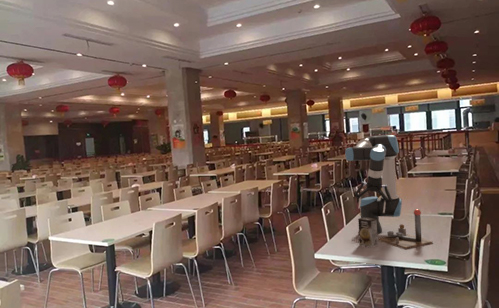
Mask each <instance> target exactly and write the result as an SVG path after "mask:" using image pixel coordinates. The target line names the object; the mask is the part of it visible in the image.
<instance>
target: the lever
mask: <svg viewBox="0 0 499 308" xmlns="http://www.w3.org/2000/svg"><path fill="white" fill-rule="evenodd" d="M421 214H422V211H421V210H420V209H418V208H417V209H414V210H413V215H414V229H415V237H416V238H415V237H409V236H403V233H400V232H396V234H394V232H395V231H387V236H388V237H393V238H399V239H406V240H412V241H417V242H421V241H422V239H423V238H422V221H421Z"/></svg>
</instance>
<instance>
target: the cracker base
mask: <svg viewBox="0 0 499 308" xmlns="http://www.w3.org/2000/svg"><path fill="white" fill-rule="evenodd" d="M397 231H398V232H400V233H403V236H409V237H415V238H416V235H412V234H407V229H406V228H405V225H404V224H403V223H402V224H401V223H400V224H399V227H398V230H397ZM398 232H397V233H398ZM377 239H378V241H380V242H383V243H386V244H389V245H392V246H396V247H398V248H401V249H404V250H409V249H413V248H417V247H422V246H426V245H427V246H428V245H432V244H433V241H432V240H429V239H425V238H422V241H421V242H417V241H412V240H406V239H399V238H393V237H388V235H386V236H383V237H377Z"/></svg>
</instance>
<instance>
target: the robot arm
mask: <svg viewBox="0 0 499 308" xmlns="http://www.w3.org/2000/svg"><path fill="white" fill-rule="evenodd" d="M399 152H400V150H399V142H398V139H397V136H396V135H392V134H387V135H386V134H385V135H371V136H367V137H364V138H362V139H360V140H359V141H358V142H357V144H356V145H355V146H353V147H351V146H350V147H346V149H345V152H344V153H345V159H346V161H352V162H355V161H356V162H357V161H369V162H368V163H369V166H368V172H367V174H368V175H367V182H365V181H364V180H362V181H361V183H360V186H359V187H358V189H356V191H355V193H354V197H355V198H356V203H358V209H359V210H360V218H363V217H366V218H373V219H377V235H379V234H381V233H382V232H383V228H382V224H381V222H380V219H379V218H380V217H381V218H382V217H384V218H385V217H389V218H391V217H392V218H394V217H396V218H397V217H400V216H401V215H402V214H401V213H402V204H403V201H402V198H400V195H398V194H397V176H396V162H395V158H396V157H397V156H398V154H399ZM365 186H366V188H365V189H363V187H365ZM362 189H363V190H362ZM360 191H361V192H360ZM369 191H370V192H375V193H378V194H379V195H380V198H378V196H367V197H363V198H362V196H364V194H366V193H367V192H369Z"/></svg>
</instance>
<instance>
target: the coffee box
mask: <svg viewBox="0 0 499 308" xmlns="http://www.w3.org/2000/svg"><path fill="white" fill-rule="evenodd" d="M357 220H358V236H359V237H358V239H359V240H358V242H359V246H364V247H368V248H369V247H370V248H375V247H377V246H378V245H379V243H378V241H379V240H378V234H377V219H373V218H366V217H363V218H361V217H360V218H358V219H357Z"/></svg>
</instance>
